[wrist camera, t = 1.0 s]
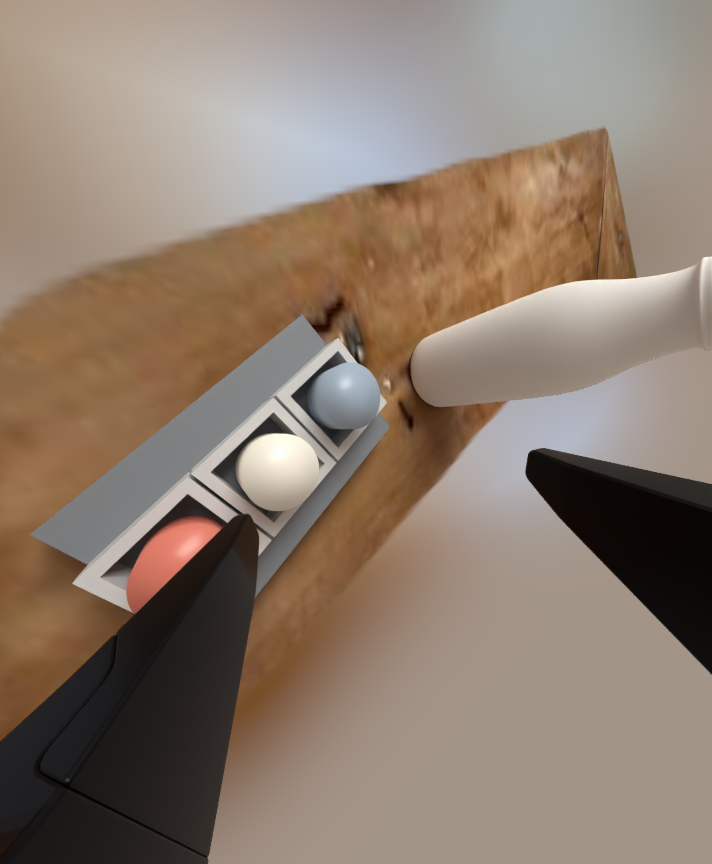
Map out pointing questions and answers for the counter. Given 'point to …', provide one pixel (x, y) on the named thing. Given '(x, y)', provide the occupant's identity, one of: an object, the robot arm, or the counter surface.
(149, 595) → the button red
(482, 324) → the milk bottle
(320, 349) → the console
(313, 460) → the button ivory
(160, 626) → the robot arm
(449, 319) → the counter surface
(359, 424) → the button blue
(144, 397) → the counter surface
